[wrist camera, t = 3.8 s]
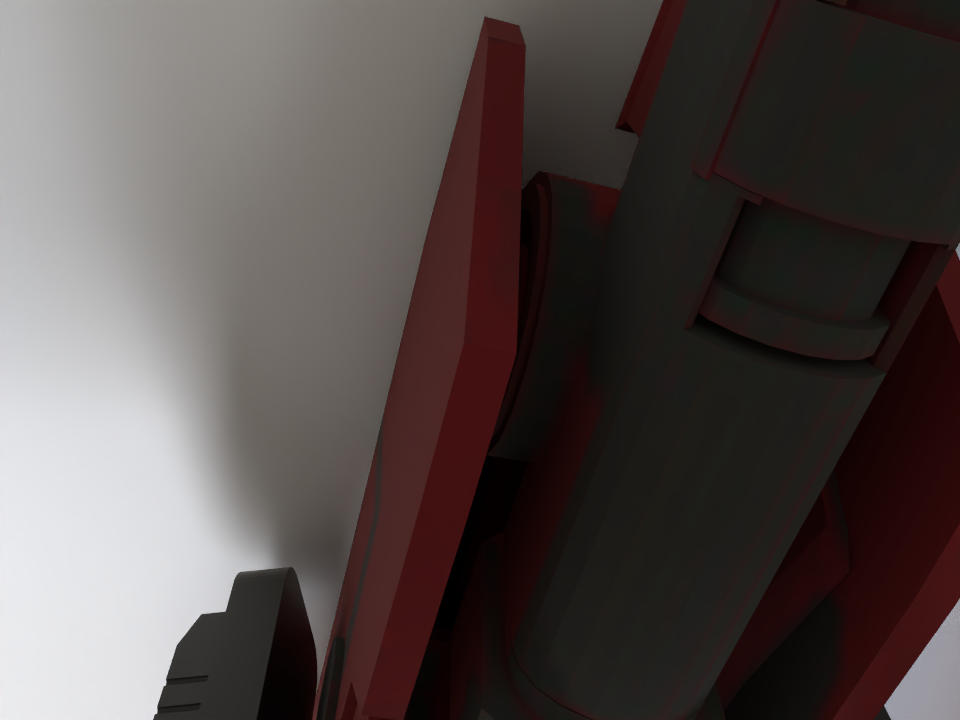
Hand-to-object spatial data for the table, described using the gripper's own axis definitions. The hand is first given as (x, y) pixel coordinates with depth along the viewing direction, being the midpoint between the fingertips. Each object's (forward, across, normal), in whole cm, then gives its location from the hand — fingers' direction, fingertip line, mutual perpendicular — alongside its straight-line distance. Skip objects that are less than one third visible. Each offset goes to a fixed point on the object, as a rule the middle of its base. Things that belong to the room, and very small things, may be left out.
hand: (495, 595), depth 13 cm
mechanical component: (+1, 0, 0) cm, 1 cm away
